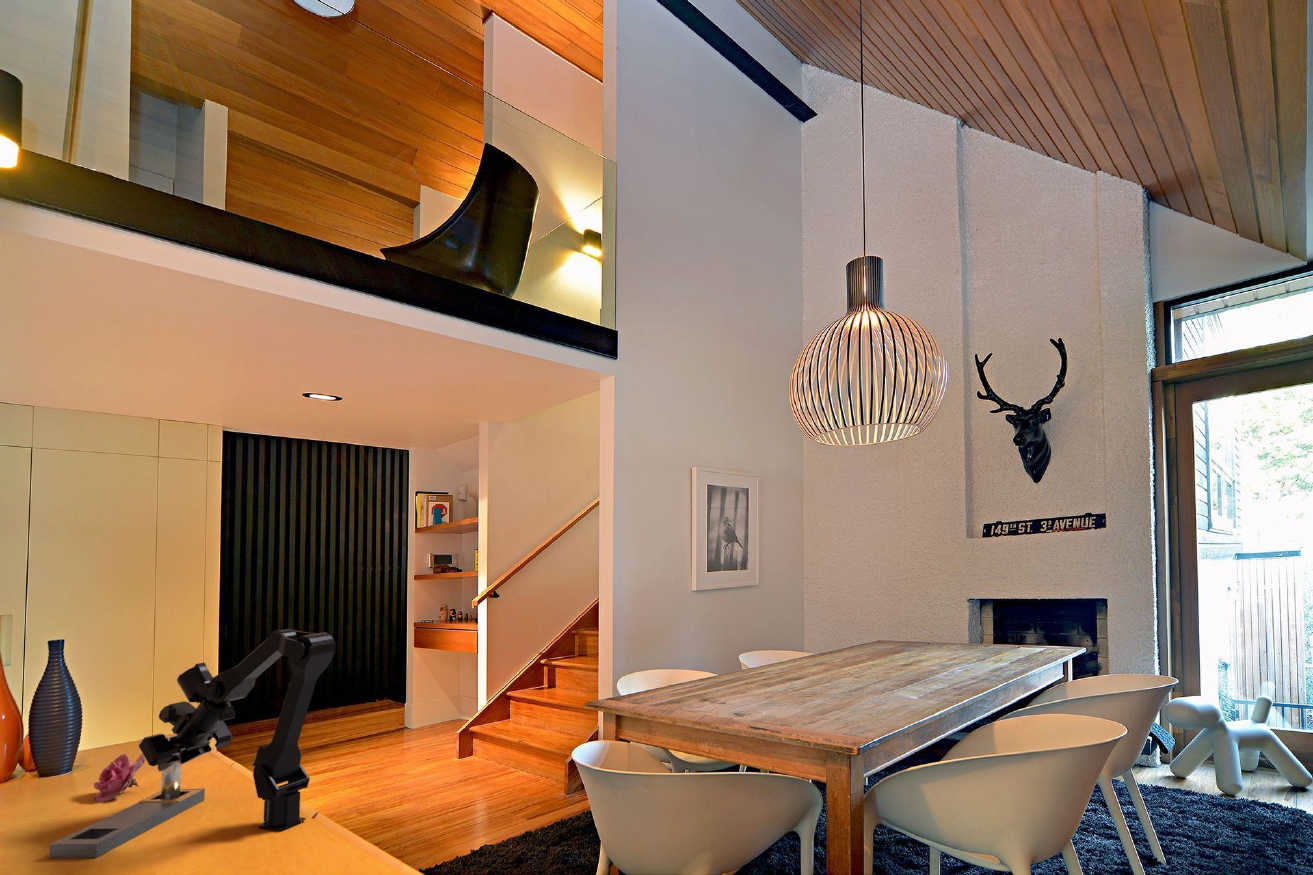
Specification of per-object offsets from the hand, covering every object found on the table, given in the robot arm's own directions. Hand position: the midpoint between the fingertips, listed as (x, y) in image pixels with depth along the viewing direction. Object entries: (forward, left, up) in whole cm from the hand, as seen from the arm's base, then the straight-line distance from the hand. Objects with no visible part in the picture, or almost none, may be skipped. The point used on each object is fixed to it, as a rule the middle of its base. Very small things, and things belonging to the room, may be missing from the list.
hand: (167, 767), depth 177 cm
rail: (-5, +11, -8) cm, 15 cm away
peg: (-1, 0, -8) cm, 8 cm away
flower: (+20, -3, -9) cm, 22 cm away
